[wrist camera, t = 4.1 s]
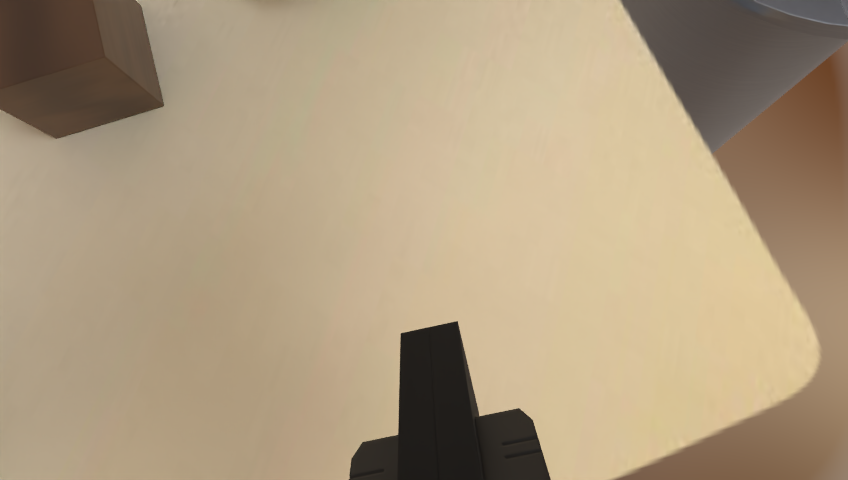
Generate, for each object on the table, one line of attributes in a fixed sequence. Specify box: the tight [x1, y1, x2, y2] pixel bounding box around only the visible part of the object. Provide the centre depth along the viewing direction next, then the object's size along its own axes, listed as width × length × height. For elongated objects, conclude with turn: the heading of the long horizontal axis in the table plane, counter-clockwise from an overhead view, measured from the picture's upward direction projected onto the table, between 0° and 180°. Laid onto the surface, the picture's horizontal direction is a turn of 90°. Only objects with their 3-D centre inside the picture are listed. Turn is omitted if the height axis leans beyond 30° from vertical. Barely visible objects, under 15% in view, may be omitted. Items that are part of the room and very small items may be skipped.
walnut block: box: [0, 0, 164, 138], centre depth 33 cm, size 6×6×6 cm
